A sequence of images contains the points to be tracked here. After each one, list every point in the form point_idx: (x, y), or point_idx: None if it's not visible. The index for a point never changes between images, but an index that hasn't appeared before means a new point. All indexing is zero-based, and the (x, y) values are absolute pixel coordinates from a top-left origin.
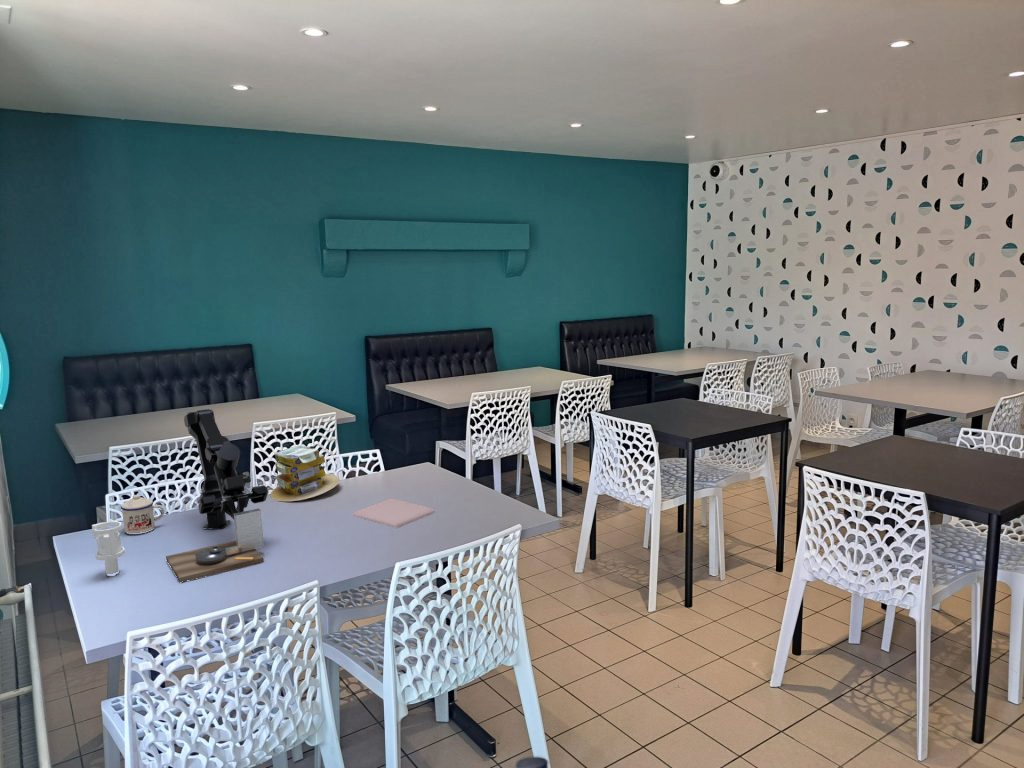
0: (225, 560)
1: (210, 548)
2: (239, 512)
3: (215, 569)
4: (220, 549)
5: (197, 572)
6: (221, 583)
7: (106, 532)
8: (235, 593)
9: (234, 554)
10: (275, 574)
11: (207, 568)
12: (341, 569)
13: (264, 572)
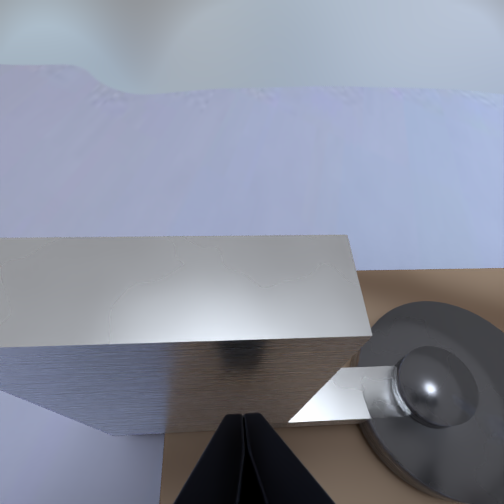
0: None
1: (473, 405)
2: (274, 333)
3: (400, 271)
4: (400, 363)
5: (478, 277)
6: (369, 198)
7: None
8: (331, 124)
9: None
10: (188, 166)
11: (439, 294)
12: (6, 99)
13: (214, 198)
